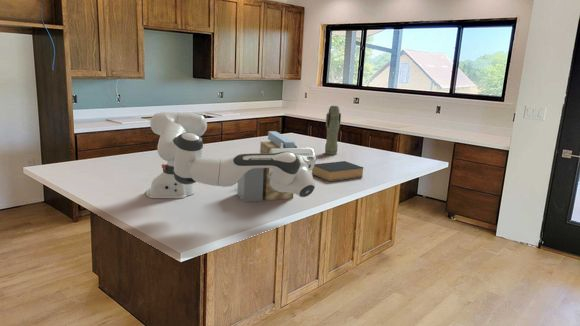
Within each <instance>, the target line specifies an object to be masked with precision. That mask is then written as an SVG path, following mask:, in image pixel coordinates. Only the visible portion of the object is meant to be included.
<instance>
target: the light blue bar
mask: <svg viewBox="0 0 580 326" xmlns="http://www.w3.org/2000/svg"><path fill="white" fill-rule="evenodd" d="M267 140H268V141H269V142H270V141H271V142H273V143H274V144H276V145H277V146H278V147H280V148H281V146H280V144H281V143H284V144H285V146H284V148H294V143H295V141H294V140H293V141H292V140H291V139H289V138H288V137H286V136H284V135H283V134H281V133H280V132H278V131H277V130H276V131H275V130H274V131H273V130H271V131H270V130H269V131H268V132H267Z"/></svg>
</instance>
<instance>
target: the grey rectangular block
mask: <svg viewBox="0 0 580 326" xmlns="http://www.w3.org/2000/svg"><path fill="white" fill-rule="evenodd" d="M263 171H264V168H253V169H251V170H249V171H247V172H246V173H245V174H244V175H243V176H242V178H241V179H240V180H239V181H238V182H237V183H236V185H237V187H236V188H237V189H236V192H237V196H238V197H239V198H240V199H241V200H242V202H244V203H252V202H263Z"/></svg>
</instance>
